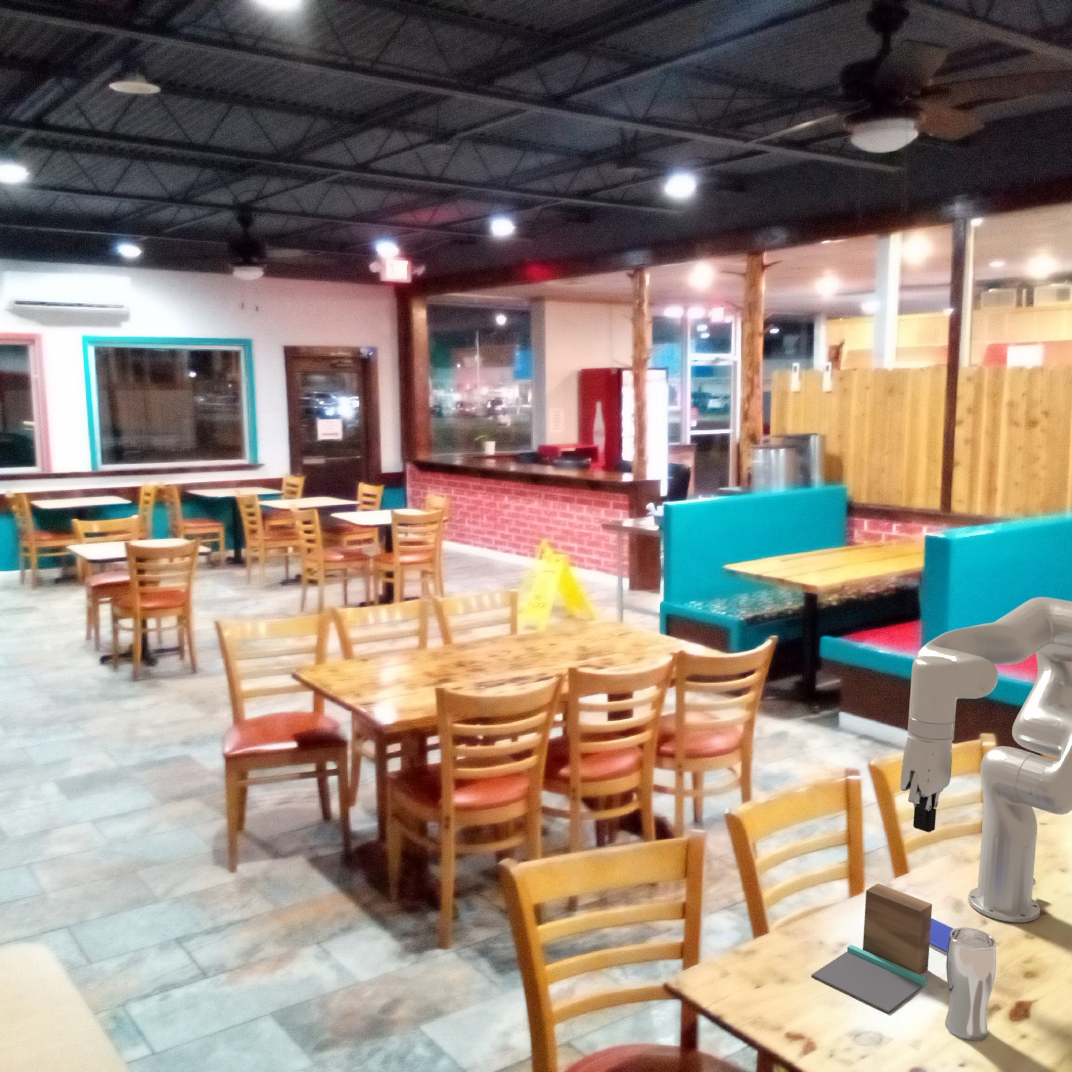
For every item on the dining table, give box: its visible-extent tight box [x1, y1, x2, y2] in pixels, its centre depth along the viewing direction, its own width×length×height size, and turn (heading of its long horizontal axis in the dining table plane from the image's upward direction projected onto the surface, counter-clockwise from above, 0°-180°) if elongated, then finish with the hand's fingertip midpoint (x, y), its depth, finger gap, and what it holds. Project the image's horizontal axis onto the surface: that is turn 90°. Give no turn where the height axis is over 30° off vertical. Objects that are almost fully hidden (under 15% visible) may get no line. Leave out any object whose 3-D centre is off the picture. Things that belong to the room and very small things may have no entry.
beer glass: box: [944, 926, 997, 1042], centre depth 156 cm, size 7×7×15 cm
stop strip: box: [846, 944, 928, 988], centre depth 173 cm, size 1×14×1 cm, turn 42°
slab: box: [862, 883, 933, 976], centre depth 175 cm, size 4×10×12 cm, turn 42°
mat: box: [811, 951, 923, 1015], centre depth 169 cm, size 11×14×1 cm
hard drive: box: [929, 917, 954, 956], centre depth 182 cm, size 2×8×12 cm
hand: (923, 828), depth 178 cm, fingers closed
